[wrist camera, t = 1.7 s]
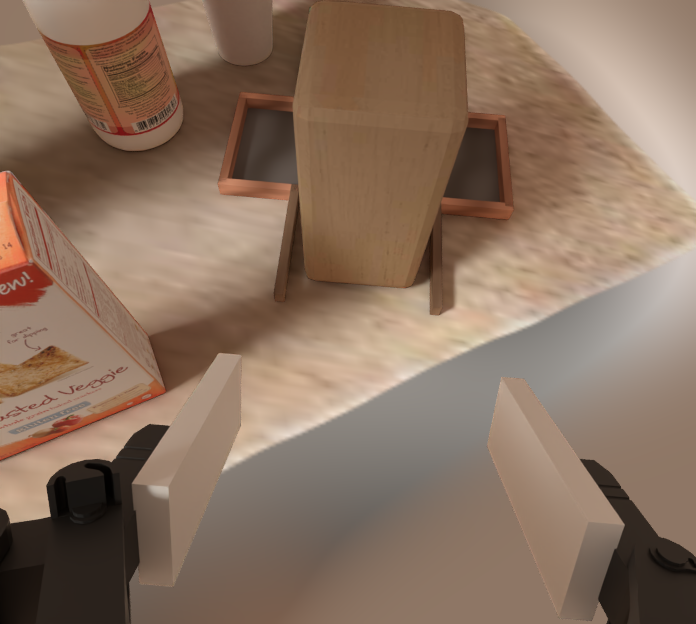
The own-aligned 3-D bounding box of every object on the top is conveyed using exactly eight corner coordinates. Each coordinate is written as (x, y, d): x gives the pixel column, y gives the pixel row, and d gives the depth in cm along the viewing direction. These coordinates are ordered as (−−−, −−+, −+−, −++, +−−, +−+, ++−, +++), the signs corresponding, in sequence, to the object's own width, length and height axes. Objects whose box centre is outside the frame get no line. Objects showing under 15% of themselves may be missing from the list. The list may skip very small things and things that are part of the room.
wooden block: (415, 205, 49) (467, 5, 31) (413, 293, 44) (473, 121, 26) (315, 196, 49) (309, -10, 31) (303, 283, 44) (289, 104, 26)
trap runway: (196, 294, 43) (188, 277, 41) (260, 27, 59) (257, 2, 57) (516, 321, 43) (529, 307, 41) (494, 48, 59) (502, 24, 57)
